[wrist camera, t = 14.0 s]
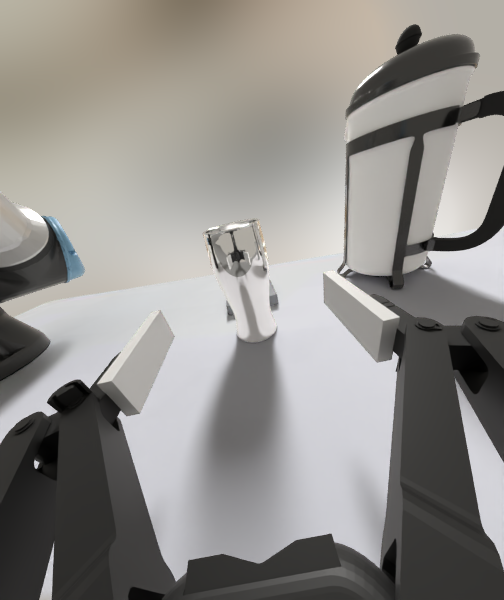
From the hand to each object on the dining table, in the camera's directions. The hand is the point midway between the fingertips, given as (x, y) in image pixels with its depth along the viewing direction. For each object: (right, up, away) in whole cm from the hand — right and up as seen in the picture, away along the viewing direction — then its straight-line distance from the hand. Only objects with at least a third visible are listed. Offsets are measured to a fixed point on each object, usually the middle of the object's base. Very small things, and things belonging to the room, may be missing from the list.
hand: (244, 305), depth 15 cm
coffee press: (+26, +5, +19) cm, 33 cm away
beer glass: (+1, -4, +13) cm, 14 cm away
